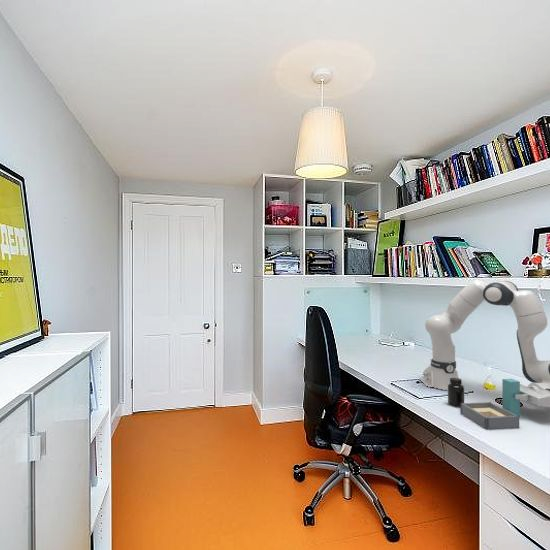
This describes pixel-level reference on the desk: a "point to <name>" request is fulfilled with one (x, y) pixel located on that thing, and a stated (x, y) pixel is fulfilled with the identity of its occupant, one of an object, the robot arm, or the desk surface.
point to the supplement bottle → (455, 392)
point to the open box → (489, 415)
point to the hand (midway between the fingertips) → (509, 394)
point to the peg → (510, 396)
